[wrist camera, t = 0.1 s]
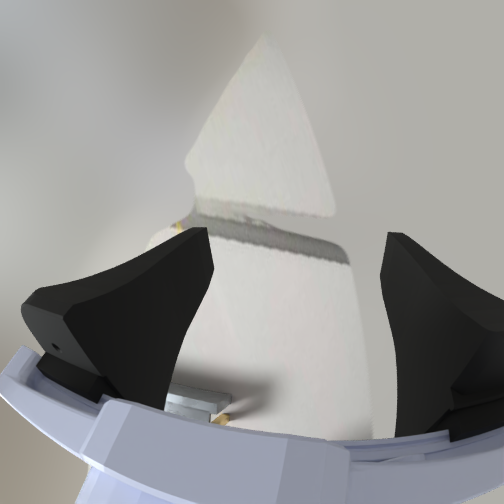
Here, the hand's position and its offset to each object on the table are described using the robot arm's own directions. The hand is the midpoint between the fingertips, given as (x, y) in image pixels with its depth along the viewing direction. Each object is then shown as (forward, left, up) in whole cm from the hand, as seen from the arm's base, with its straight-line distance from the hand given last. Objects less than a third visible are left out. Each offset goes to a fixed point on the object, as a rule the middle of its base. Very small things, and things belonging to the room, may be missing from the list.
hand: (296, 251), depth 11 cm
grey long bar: (-16, +21, -32) cm, 42 cm away
